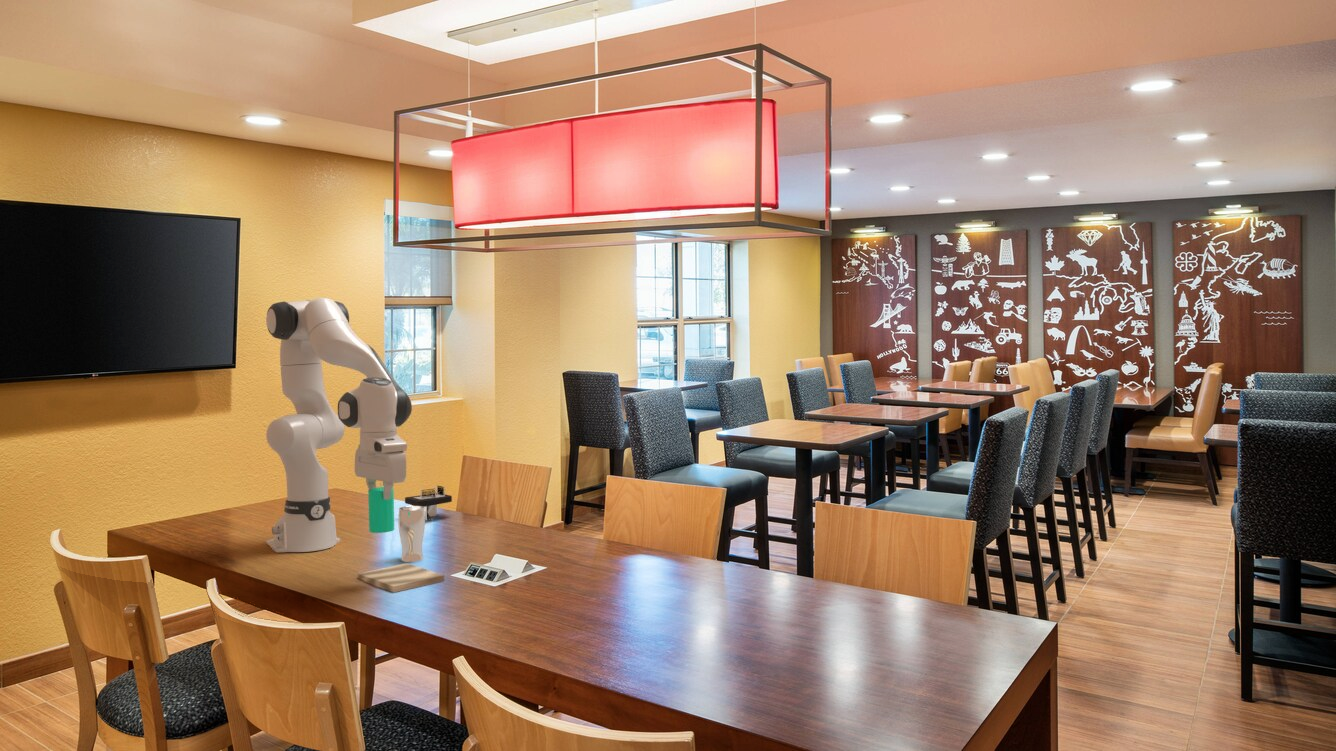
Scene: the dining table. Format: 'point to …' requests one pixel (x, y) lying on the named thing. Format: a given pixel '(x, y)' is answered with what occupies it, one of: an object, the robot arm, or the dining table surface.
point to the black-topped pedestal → (429, 501)
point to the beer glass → (411, 532)
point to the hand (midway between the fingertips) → (379, 497)
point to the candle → (380, 511)
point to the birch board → (401, 577)
